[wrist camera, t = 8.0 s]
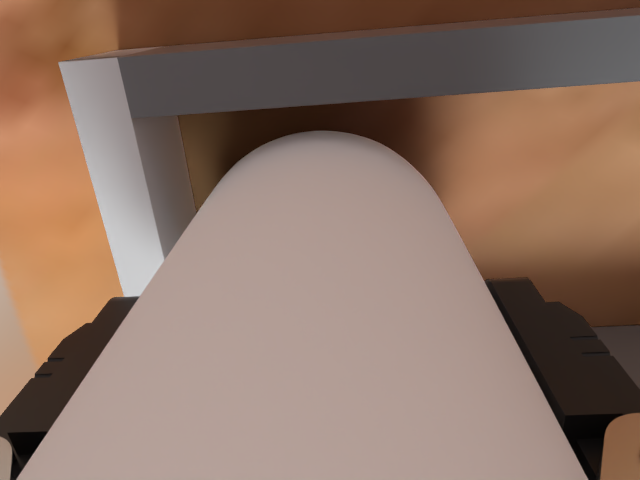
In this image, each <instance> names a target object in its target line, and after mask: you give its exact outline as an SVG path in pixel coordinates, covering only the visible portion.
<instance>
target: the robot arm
mask: <svg viewBox="0 0 640 480" xmlns="http://www.w3.org/2000/svg"><path fill="white" fill-rule="evenodd" d="M485 284H486V286H487V288H488V289H489V291H490V293H491V295H492V297H493V299H494V301H495V303H496V304H497V306H498V308H499V310H500V312H501V314H502V316H503V318H504V320H505V322H506V324H507V325H508V327H509V329H510V331H511V333H512V335H513V337H514V339H515V341H516V343H517V344H518V346H519V348H520V350H521V352H522V354H523V356H524V358H525V360H526V362H527V363H528V365H529V367H530V369H531V371H532V373H533V375H534V377H535V379H536V381H537V383H538V384H539V386H540V388H541V390H542V392H543V394H544V396H545V398H546V400H547V402H548V404H549V406H550V407H551V409H552V411H553V413H554V415H555V417H556V419H557V421H558V423H559V425H560V427H561V429H562V430H563V432H564V434H565V436H566V438H567V440H568V442H569V444H570V446H571V448H572V450H573V452H574V453H575V455H576V457H577V459H578V461H579V463H580V465H581V467H582V469H583V471H584V473H585V475H586V476H587V478H588V480H640V389H639V388H638V387H637V385H636V384H635V383H634V381H633V380H632V379H631V378H630V376H629V375H628V374H627V373H626V371H625V370H624V369H623V367H622V366H621V365H620V364H619V362H618V361H617V360H616V359H615V357H614V356H611V355H610V351H609V350H608V348H607V347H606V346H605V345H604V343H603V342H602V341H601V339H599V340H598V337H597V334H596V333H595V332H594V331H593V329H592V328H591V327H590V325H589V324H588V323H587V322H586V320H585V319H584V318H583V317H582V316H580V315H579V314H577V313H576V312H574V311H573V310H571V309H570V308H568V307H566V306H565V305H563V304H562V303H560V302H545V301H544V299H543V298H542V296H541V295H540V294H539V292H538V291H537V289H536V288H535V286H534V285H533V284H532V282H531V281H530V280H529V279H528V278H526V277H523V278H503V279H487V280H486V281H485ZM139 297H140V296H132V297H114V298H112V299H110V300H109V301H108V303H107V304H106V305H105V306H104V308H103V309H102V310H101V312H100V313H99V314H98V315H97V317H96V318H95V319H94V321H93V322H92V323H86V324H84V325H83V326H82V327H80V328H79V329H77V330H76V331H75V332H73V333H72V334H70V335H69V336H67V337H66V338H65V339H63V340H62V341H61V343H60V344H59V345H58V346H57V348H56V349H55V350H54V351H53V352H52V354H51V355H50V356H49V357H48V362H44V363H43V365H42V366H41V367H40V368H39V369H38V371H37V372H36V373H35V378H31V379H30V380H29V382H28V383H27V384H26V385H25V387H24V388H23V389H22V390H21V392H20V393H19V394H18V395H17V396H16V398H15V399H14V400H13V401H12V402H11V404H10V405H9V406H8V407H7V409H6V410H5V411H4V412H3V413H2V415H1V416H0V480H16V479H17V478H18V476H19V475H20V473H21V472H22V470H23V469H24V467H25V466H26V464H27V463H28V461H29V460H30V458H31V457H32V455H33V454H34V452H35V451H36V449H37V448H38V446H39V445H40V443H41V442H42V440H43V439H44V437H45V436H46V434H47V433H48V431H49V430H50V428H51V427H52V425H53V424H54V422H55V421H56V419H57V418H58V417H59V415H60V414H61V412H62V411H63V409H64V408H65V406H66V405H67V403H68V402H69V400H70V399H71V397H72V396H73V394H74V393H75V391H76V390H77V388H78V387H79V385H80V384H81V382H82V381H83V379H84V378H85V376H86V375H87V374H88V372H89V371H90V369H91V368H92V366H93V365H94V363H95V362H96V360H97V359H98V357H99V356H100V354H101V353H102V351H103V350H104V348H105V347H106V345H107V344H108V342H109V341H110V340H111V338H112V337H113V335H114V334H115V332H116V331H117V329H118V328H119V326H120V325H121V323H122V322H123V320H124V319H125V317H126V316H127V315H128V313H129V312H130V310H131V309H132V307H133V306H134V304H135V303H136V301H137V300H138V298H139Z"/></svg>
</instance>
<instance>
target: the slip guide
mask: <svg viewBox="0 0 640 480" xmlns="http://www.w3.org/2000/svg"><path fill="white" fill-rule="evenodd" d="M58 63H59V66H60V70H61V73H62V77H63V81H64V84H65V88H66V91H67V95H68V98H69V102H70V105H71V109H72V113H73V116H74V120H75V123H76V127H77V130H78V134H79V137H80V141H81V145H82V148H83V152H84V155H85V159H86V162H87V166H88V169H89V173H90V177H91V180H92V184H93V187H94V191H95V194H96V198H97V201H98V205H99V209H100V212H101V216H102V219H103V223H104V226H105V230H106V233H107V237H108V241H109V244H110V248H111V251H112V255H113V258H114V262H115V265H116V269H117V273H118V276H119V280H120V283H121V287H122V290H123V294H124V297H132V296H140V295H141V294H142V292H143V291H144V289H145V288H146V287H147V285H148V284H149V282H150V281H151V279H152V278H153V276H154V275H155V273H156V272H157V270H158V269H159V268H160V266H161V265H162V263H163V262H164V260H165V259H166V257H167V256H168V254H169V253H170V251H171V250H172V249H173V247H174V246H175V244H176V243H177V241H178V240H179V238H180V237H181V235H182V234H183V232H184V231H185V230H186V228H187V227H188V225H189V224H190V222H191V221H192V219H193V218H194V217H195V215H196V214H197V213H196V208H195V203H194V198H193V193H192V188H191V183H190V177H189V172H188V167H187V162H186V157H185V152H184V147H183V141H182V136H181V131H180V126H179V121H178V116H177V115H186V114H200V113H213V112H227V111H241V110H254V109H268V108H281V107H295V106H309V105H322V104H336V103H349V102H363V101H377V100H390V99H404V98H417V97H431V96H445V95H458V94H472V93H485V92H499V91H513V90H526V89H540V88H553V87H567V86H581V85H594V84H608V83H621V82H635V81H640V7H639V8H627V9H615V10H602V11H590V12H578V13H566V14H553V15H541V16H529V17H517V18H504V19H492V20H480V21H468V22H456V23H443V24H431V25H419V26H407V27H394V28H382V29H370V30H358V31H345V32H333V33H321V34H309V35H296V36H284V37H272V38H260V39H247V40H235V41H223V42H211V43H198V44H186V45H174V46H162V47H149V48H137V49H125V50H116V51H111V52H106V53H101V54H96V55H91V56H86V57H81V58H76V59H72V60H67V61H62V62H58ZM591 328H592V329H593V331H594V332H595V333H596V334H597V337H598V340H599V339H601V341H602V342H603V343H604V345H605V346H606V347H607V348H608V350H609V351H610V355H611V356H614V357H615V359H616V360H617V361H618V362H619V364H620V365H621V366H622V367H623V369H624V370H625V371H626V373H627V374H628V375H629V376H630V378H631V379H632V380H633V381H634V383H635V384H636V385H637V387H638V388H639V389H640V325H631V326H609V327H591Z"/></svg>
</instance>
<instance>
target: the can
mask: <svg viewBox="0 0 640 480" xmlns="http://www.w3.org/2000/svg"><path fill="white" fill-rule="evenodd" d="M16 480H588V478H587V476H586V475H585V473H584V471H583V469H582V467H581V465H580V463H579V461H578V459H577V457H576V455H575V453H574V452H573V450H572V448H571V446H570V444H569V442H568V440H567V438H566V436H565V434H564V432H563V430H562V429H561V427H560V425H559V423H558V421H557V419H556V417H555V415H554V413H553V411H552V409H551V407H550V406H549V404H548V402H547V400H546V398H545V396H544V394H543V392H542V390H541V388H540V386H539V384H538V383H537V381H536V379H535V377H534V375H533V373H532V371H531V369H530V367H529V365H528V363H527V362H526V360H525V358H524V356H523V354H522V352H521V350H520V348H519V346H518V344H517V343H516V341H515V339H514V337H513V335H512V333H511V331H510V329H509V327H508V325H507V324H506V322H505V320H504V318H503V316H502V314H501V312H500V310H499V308H498V306H497V304H496V303H495V301H494V299H493V297H492V295H491V293H490V291H489V289H488V288H487V286H486V284H485V282H484V280H483V278H482V276H481V274H480V272H479V271H478V269H477V267H476V265H475V263H474V261H473V259H472V257H471V255H470V254H469V252H468V250H467V248H466V246H465V244H464V242H463V240H462V239H461V237H460V235H459V233H458V231H457V229H456V227H455V226H454V224H453V222H452V220H451V218H450V216H449V215H448V213H447V211H446V209H445V207H444V206H443V204H442V202H441V200H440V199H439V197H438V196H437V194H436V192H435V191H434V189H433V188H432V187H431V185H430V184H429V183H428V181H427V180H426V179H425V178H424V177H423V176H422V175H421V174H420V173H419V172H418V171H417V170H416V169H415V168H414V167H413V166H412V165H411V164H410V163H409V162H408V161H406V160H405V159H404V158H403V157H401V156H400V155H399V154H397V153H396V152H394V151H393V150H391V149H390V148H388V147H386V146H385V145H383V144H381V143H379V142H376V141H374V140H371V139H369V138H366V137H363V136H359V135H355V134H351V133H345V132H338V131H309V132H301V133H296V134H291V135H287V136H284V137H281V138H278V139H275V140H273V141H270V142H268V143H266V144H264V145H262V146H260V147H258V148H256V149H255V150H253V151H252V152H250V153H249V154H247V155H246V156H244V157H243V158H242V159H241V160H239V161H238V162H237V163H236V164H235V165H234V166H233V167H232V168H231V169H230V170H229V171H228V172H227V173H226V174H225V175H224V177H223V178H222V179H221V180H220V182H219V183H218V184H217V185H216V187H215V188H214V190H213V191H212V192H211V194H210V195H209V197H208V198H207V199H206V201H205V202H204V204H203V205H202V206H201V208H200V209H199V211H198V212H197V214H196V215H195V217H194V218H193V219H192V221H191V222H190V224H189V225H188V227H187V228H186V230H185V231H184V232H183V234H182V235H181V237H180V238H179V240H178V241H177V243H176V244H175V246H174V247H173V249H172V250H171V251H170V253H169V254H168V256H167V257H166V259H165V260H164V262H163V263H162V265H161V266H160V268H159V269H158V270H157V272H156V273H155V275H154V276H153V278H152V279H151V281H150V282H149V284H148V285H147V287H146V288H145V289H144V291H143V292H142V294H141V295H140V297H139V298H138V300H137V301H136V303H135V304H134V306H133V307H132V309H131V310H130V312H129V313H128V315H127V316H126V317H125V319H124V320H123V322H122V323H121V325H120V326H119V328H118V329H117V331H116V332H115V334H114V335H113V337H112V338H111V340H110V341H109V342H108V344H107V345H106V347H105V348H104V350H103V351H102V353H101V354H100V356H99V357H98V359H97V360H96V362H95V363H94V365H93V366H92V368H91V369H90V371H89V372H88V374H87V375H86V376H85V378H84V379H83V381H82V382H81V384H80V385H79V387H78V388H77V390H76V391H75V393H74V394H73V396H72V397H71V399H70V400H69V402H68V403H67V405H66V406H65V408H64V409H63V411H62V412H61V414H60V415H59V417H58V418H57V419H56V421H55V422H54V424H53V425H52V427H51V428H50V430H49V431H48V433H47V434H46V436H45V437H44V439H43V440H42V442H41V443H40V445H39V446H38V448H37V449H36V451H35V452H34V454H33V455H32V457H31V458H30V460H29V461H28V463H27V464H26V466H25V467H24V469H23V470H22V472H21V473H20V475H19V476H18V478H17V479H16Z"/></svg>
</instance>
